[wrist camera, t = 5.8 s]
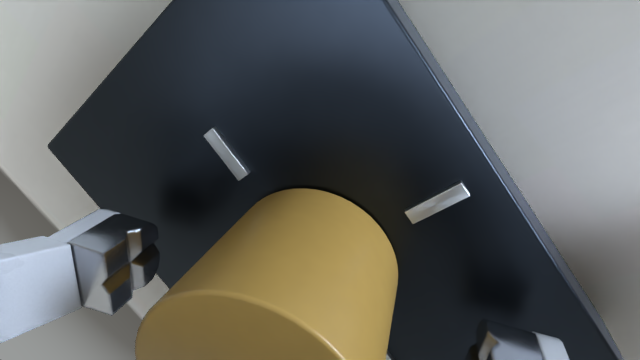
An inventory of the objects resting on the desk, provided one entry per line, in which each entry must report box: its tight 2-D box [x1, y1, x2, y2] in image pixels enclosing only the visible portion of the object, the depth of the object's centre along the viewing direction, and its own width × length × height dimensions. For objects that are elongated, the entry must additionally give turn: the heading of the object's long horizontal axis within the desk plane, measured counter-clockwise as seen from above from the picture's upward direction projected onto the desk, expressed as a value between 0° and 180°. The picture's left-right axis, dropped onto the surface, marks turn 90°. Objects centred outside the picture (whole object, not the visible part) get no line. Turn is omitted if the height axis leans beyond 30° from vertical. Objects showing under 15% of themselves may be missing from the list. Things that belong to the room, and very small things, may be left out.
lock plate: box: [48, 0, 624, 360], centre depth 11 cm, size 14×10×3 cm
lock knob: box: [135, 188, 398, 360], centre depth 8 cm, size 4×4×4 cm
